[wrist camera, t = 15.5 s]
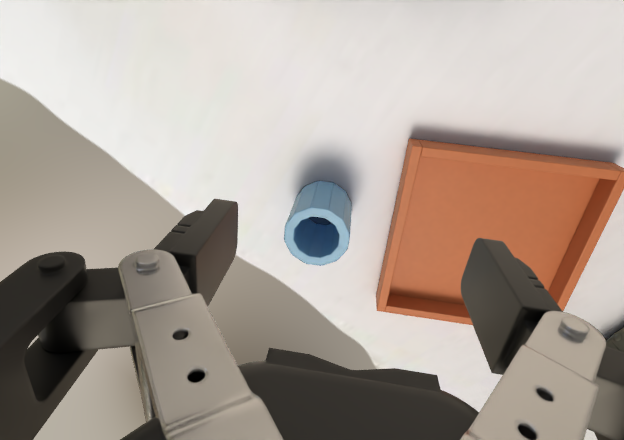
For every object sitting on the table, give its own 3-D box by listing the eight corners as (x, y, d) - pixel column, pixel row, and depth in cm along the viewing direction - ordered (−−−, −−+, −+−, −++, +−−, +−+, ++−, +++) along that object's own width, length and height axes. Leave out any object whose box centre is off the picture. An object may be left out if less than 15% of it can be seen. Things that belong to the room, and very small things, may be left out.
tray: (375, 295, 39) (376, 310, 37) (409, 138, 32) (412, 145, 30) (540, 320, 38) (550, 337, 36) (613, 162, 31) (632, 172, 29)
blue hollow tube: (294, 227, 37) (282, 260, 32) (297, 177, 35) (286, 203, 29) (347, 235, 37) (344, 269, 31) (354, 184, 34) (353, 212, 29)
